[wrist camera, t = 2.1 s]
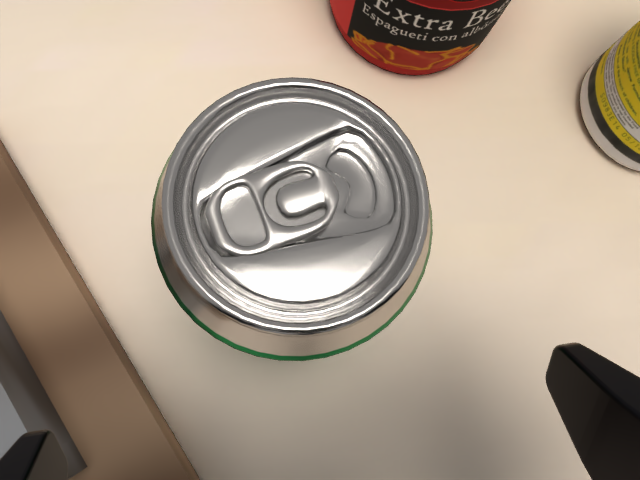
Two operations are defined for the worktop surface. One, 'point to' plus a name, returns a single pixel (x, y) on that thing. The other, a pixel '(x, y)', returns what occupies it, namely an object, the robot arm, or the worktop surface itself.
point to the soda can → (292, 220)
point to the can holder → (69, 358)
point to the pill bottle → (615, 100)
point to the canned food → (416, 31)
